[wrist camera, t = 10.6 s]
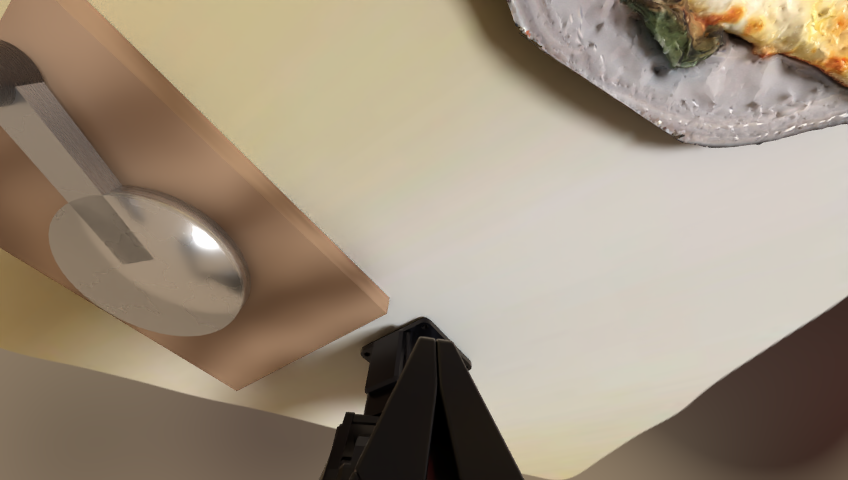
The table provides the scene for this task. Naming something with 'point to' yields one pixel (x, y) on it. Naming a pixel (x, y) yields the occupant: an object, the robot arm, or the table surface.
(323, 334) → the stand base
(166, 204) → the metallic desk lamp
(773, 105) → the food plate
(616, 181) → the table surface
